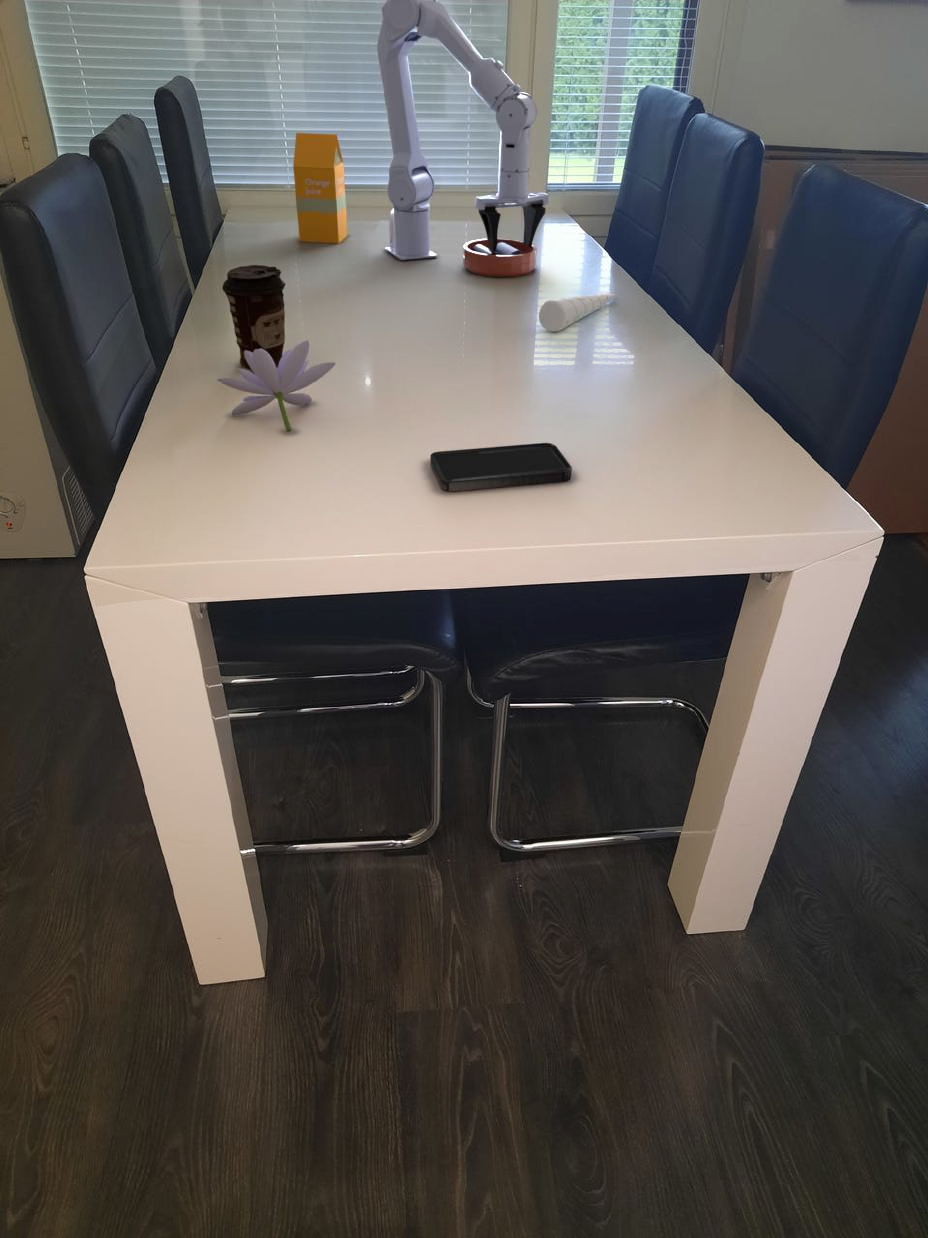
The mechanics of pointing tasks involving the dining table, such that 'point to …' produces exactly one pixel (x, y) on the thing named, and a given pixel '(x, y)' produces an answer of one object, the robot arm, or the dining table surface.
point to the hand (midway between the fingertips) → (510, 247)
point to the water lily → (276, 379)
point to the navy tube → (506, 249)
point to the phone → (499, 466)
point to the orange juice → (320, 188)
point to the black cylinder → (484, 250)
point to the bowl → (500, 259)
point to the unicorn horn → (569, 310)
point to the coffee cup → (257, 310)
